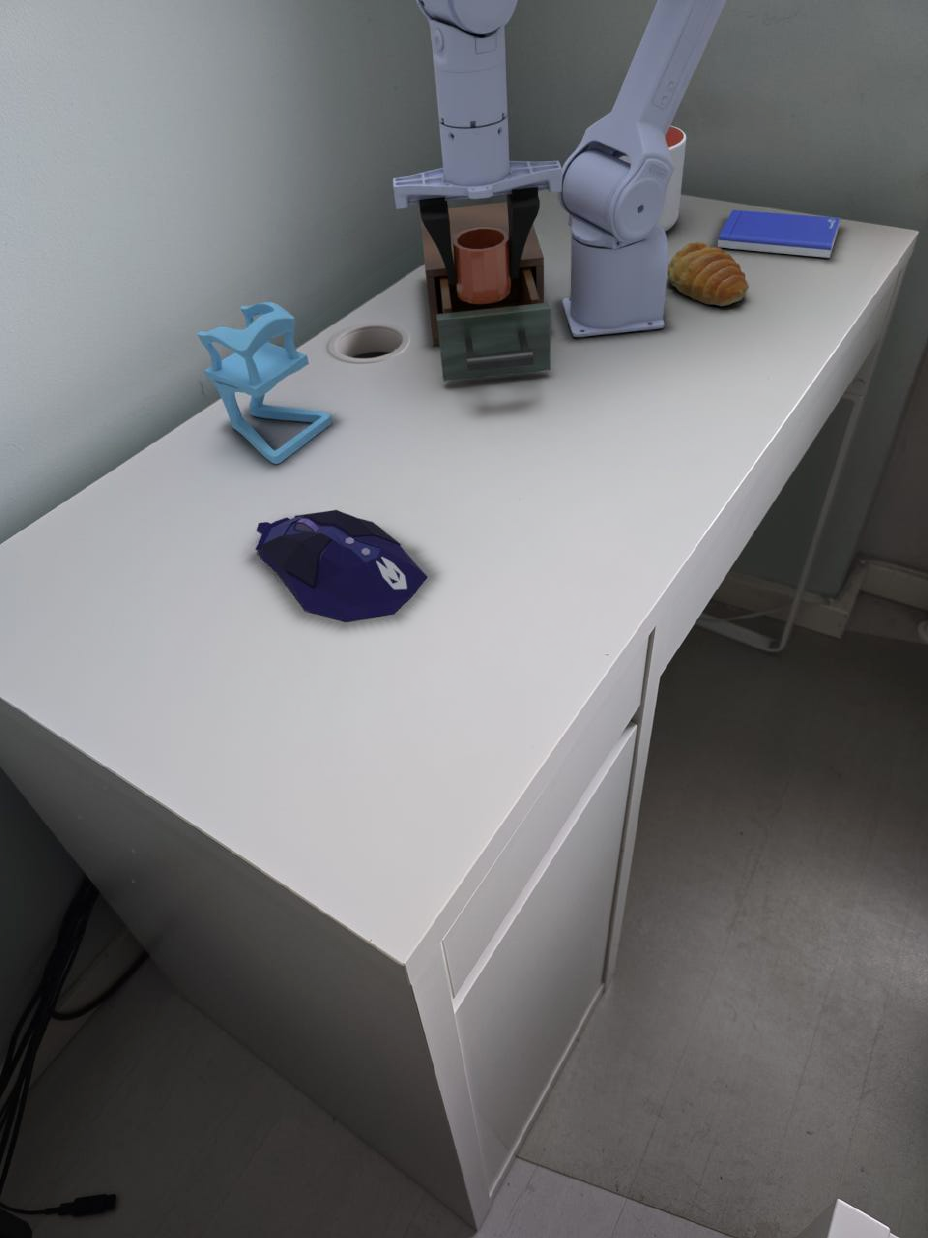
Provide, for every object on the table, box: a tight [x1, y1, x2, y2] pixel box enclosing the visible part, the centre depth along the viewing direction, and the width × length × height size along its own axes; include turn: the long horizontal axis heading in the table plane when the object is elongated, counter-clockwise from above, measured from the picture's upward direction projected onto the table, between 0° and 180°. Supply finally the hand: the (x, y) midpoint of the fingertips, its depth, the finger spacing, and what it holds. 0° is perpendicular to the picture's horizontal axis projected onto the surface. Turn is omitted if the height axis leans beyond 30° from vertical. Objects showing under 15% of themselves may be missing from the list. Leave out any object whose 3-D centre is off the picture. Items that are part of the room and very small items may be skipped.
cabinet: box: [419, 201, 545, 347], centre depth 93 cm, size 15×12×8 cm
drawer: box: [436, 267, 552, 382], centre depth 85 cm, size 18×10×6 cm, turn 4°
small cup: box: [452, 227, 511, 304], centre depth 81 cm, size 5×5×5 cm
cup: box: [619, 125, 687, 233], centre depth 104 cm, size 10×10×10 cm
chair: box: [197, 301, 332, 465], centre depth 77 cm, size 8×8×12 cm
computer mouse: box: [254, 509, 428, 622], centre depth 66 cm, size 9×15×4 cm, turn 58°
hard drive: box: [717, 209, 842, 259], centre depth 101 cm, size 2×8×12 cm
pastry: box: [667, 241, 749, 307], centre depth 93 cm, size 9×7×4 cm
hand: (482, 276), depth 82 cm, fingers closed on small cup, 5 cm apart
